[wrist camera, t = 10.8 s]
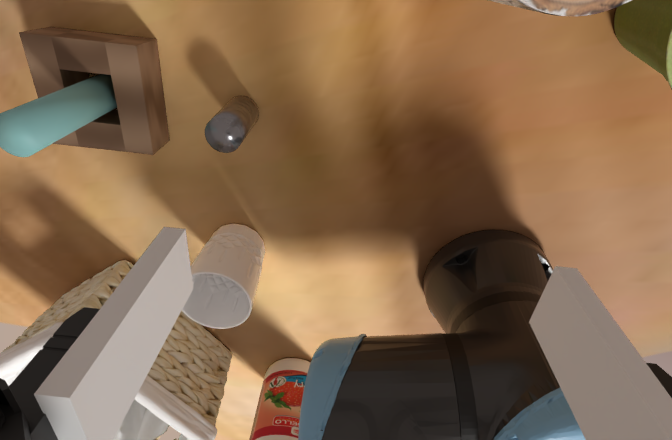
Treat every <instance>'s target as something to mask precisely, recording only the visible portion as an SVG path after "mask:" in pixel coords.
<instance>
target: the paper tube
mask: <svg viewBox="0 0 672 440" xmlns="http://www.w3.org/2000/svg"><path fill="white" fill-rule="evenodd" d="M489 1H493V2H497V3H502V4H506V5H510V6H515V7H519V8H523V9H528V10H532V11H536V12H541V13H545V14H551V15H558V16H585V15H591V14H597V13H600V12H604V11H608V10H610V9H613V8H616V7H619V6H621V5H623V4H625V3H627V2H629V1H631V0H489Z"/></svg>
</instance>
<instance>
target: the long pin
mask: <svg viewBox="0 0 672 440" xmlns="http://www.w3.org/2000/svg"><path fill="white" fill-rule="evenodd" d="M115 108H117V103H116V98H115V93H114V88H113V83H112V77H111V75H107V74H99V75H96V76H94V77H91V78H89V79H86V80H84V81H81V82H79V83H76V84H74V85H71V86H68V87H66V88H63V89H61V90H58V91H56V92H53V93H51V94H48V95H46V96H43V97H41V98H38V99H36V100H33V101H31V102H28V103H26V104H23V105H20V106H18V107H15V108H13V109H10V110H8V111H5V112H3V113H0V147H1V148H2V149H4V150H5V151H6V152H8V153H10V154H12V155H15V156H18V157H28V156H31V155H33V154H35V153H36V152H38V151H40V150H42V149H43V148H45V147H47V146H49V145H51V144H52V143H54V142H56V141H58V140H60V139H61V138H63V137H65V136H67V135H68V134H70V133H72V132H74V131H76V130H77V129H79V128H81V127H83V126H85V125H86V124H88V123H90V122H92V121H93V120H95V119H97V118H99V117H101V116H102V115H104V114H106V113H108V112H110V111H111V110H113V109H115Z"/></svg>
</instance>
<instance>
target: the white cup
mask: <svg viewBox="0 0 672 440" xmlns="http://www.w3.org/2000/svg"><path fill="white" fill-rule="evenodd" d="M264 255H265V246H264V241H263V240H262V238H261V237H260V236H259V234H258V233H257V232H256V231H254V230H253V229H251V228H249V227H247V226H246V225H240V224H234V223H233V224H228V225H224V226H221V227H220V228H219V229H218V230H216V231H215V232H214V233H213V235H212V236H211V238H210V239H209V241H208V242H207V243H206V244H205V246H204V247H203V248H202V250H201V251H200V253H199V254H198V255H197V257H196V258H195V260H194V261H193V263H192V264H191V274H192V281H193V290H192V292H191V294H190V296H189V297H188V299H187V301H186V303H185V305H184V307H183V309H182V311H183V313H184V314H185V315H186V316H188V317H189V318H190V319H192V320H193V321H195V322H197V323H199V324H201V325H203V326H206V327H210V328H217V329H226V328H232V327H236V326H238V325H240V324H242V323H243V322H245V321H246V320H247V318H248V317H249V316H250V313H251V310H252V306H253V302H254V299H255V295H256V291H257V287H258V283H259V279H260V274H261V270H262V262H263V258H264Z"/></svg>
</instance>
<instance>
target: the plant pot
mask: <svg viewBox="0 0 672 440" xmlns="http://www.w3.org/2000/svg"><path fill="white" fill-rule="evenodd" d="M614 29H615V34H616V37H617V39H618V40H619V42H620V43H621V44H622V46H623V47H624V48H626V49H627V50H628V51H629V52H631V53H632V54H634V55H635V56H637V57H638V58H640V59H641V60H642V61H644V62H645V63H647V64H648V65H649V66H651V67H652V68H653V69H655V70H656V71H658V72H659V73H661V74H662V75H663V76H664V77H665V79H666V80H667V81H668V82H669V85H670V87H671V89H672V0H631V1H629V2H627V3H625V4H623V5H621V6H619V7H617V9H616V13H615V18H614Z"/></svg>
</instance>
